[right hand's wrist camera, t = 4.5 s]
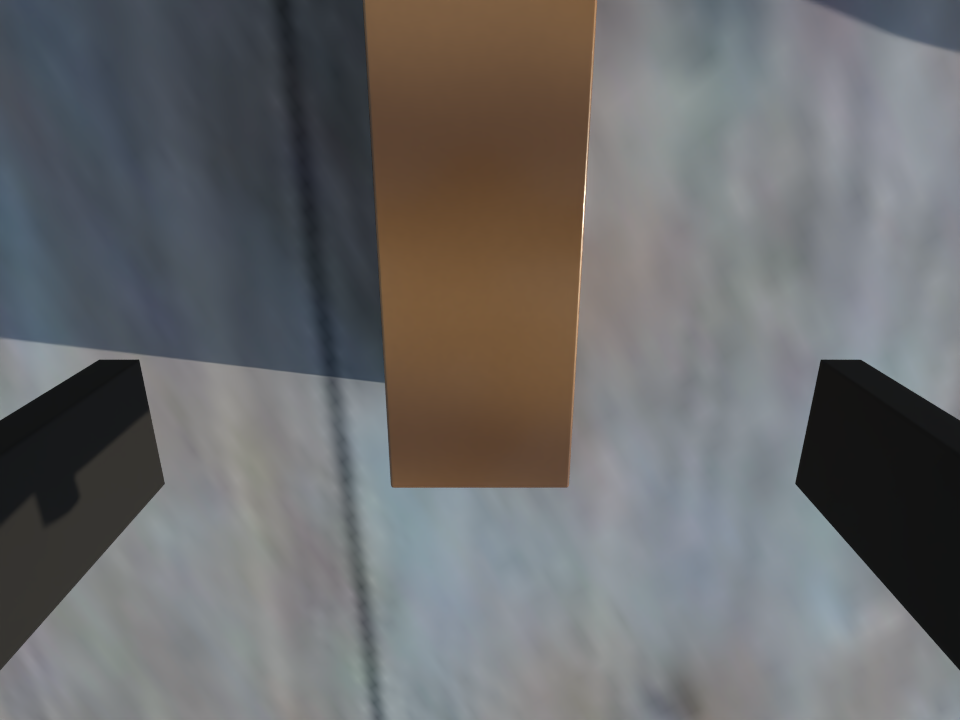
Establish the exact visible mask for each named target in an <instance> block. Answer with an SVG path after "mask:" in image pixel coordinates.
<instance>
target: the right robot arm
mask: <svg viewBox="0 0 960 720" xmlns="http://www.w3.org/2000/svg"><path fill="white" fill-rule="evenodd" d="M164 484H165V483H164V478H163V473H162V468H161V463H160V459H159V454H158V449H157V444H156V439H155V434H154V430H153V425H152V420H151V415H150V410H149V405H148V401H147V396H146V391H145V386H144V381H143V376H142V371H141V367H140V362H139V360H98V361H96V362H95V363H93V364H92V365H90V366H88V367H87V368H85V369H83V370H82V371H80V372H79V373H77V374H75V375H74V376H72V377H70V378H69V379H67V380H65V381H64V382H62V383H61V384H59V385H57V386H56V387H54V388H52V389H51V390H49V391H48V392H46V393H44V394H43V395H41V396H39V397H38V398H36V399H35V400H33V401H31V402H30V403H28V404H26V405H25V406H23V407H21V408H20V409H18V410H17V411H15V412H13V413H12V414H10V415H8V416H7V417H5V418H4V419H2V420H0V670H1V669H2V668H3V667H4V665H5V664H6V663H7V662H8V661H9V660H10V659H11V657H12V656H13V655H14V654H15V653H16V652H17V651H18V650H19V648H20V647H21V646H22V645H23V644H24V643H25V642H26V640H27V639H28V638H29V637H30V636H31V635H32V634H33V633H34V631H35V630H36V629H37V628H38V627H39V626H40V625H41V623H42V622H43V621H44V620H45V619H46V618H47V617H48V616H49V614H50V613H51V612H52V611H53V610H54V609H55V608H56V606H57V605H58V604H59V603H60V602H61V601H62V600H63V599H64V597H65V596H66V595H67V594H68V593H69V592H70V591H71V589H72V588H73V587H74V586H75V585H76V584H77V583H78V582H79V580H80V579H81V578H82V577H83V576H84V575H85V574H86V572H87V571H88V570H89V569H90V568H91V567H92V566H93V564H94V563H95V562H96V561H97V560H98V559H99V558H100V557H101V555H102V554H103V553H104V552H105V551H106V550H107V549H108V547H109V546H110V545H111V544H112V543H113V542H114V541H115V540H116V538H117V537H118V536H119V535H120V534H121V533H122V532H123V530H124V529H125V528H126V527H127V526H128V525H129V524H130V523H131V521H132V520H133V519H134V518H135V517H136V516H137V515H138V513H139V512H140V511H141V510H142V509H143V508H144V507H145V506H146V504H147V503H148V502H149V501H150V500H151V499H152V498H153V496H154V495H155V494H156V493H157V492H158V491H159V490H160V489H161V487H162V486H163V485H164ZM795 484H796V485H797V486H798V487H799V489H800V490H801V491H802V492H803V493H804V494H805V495H806V496H807V498H808V499H809V500H810V501H811V502H812V503H813V504H814V506H815V507H816V508H817V509H818V510H819V511H820V512H821V513H822V515H823V516H824V517H825V518H826V519H827V520H828V521H829V523H830V524H831V525H832V526H833V527H834V528H835V529H836V530H837V532H838V533H839V534H840V535H841V536H842V537H843V538H844V540H845V541H846V542H847V543H848V544H849V545H850V546H851V547H852V549H853V550H854V551H855V552H856V553H857V554H858V555H859V557H860V558H861V559H862V560H863V561H864V562H865V563H866V564H867V566H868V567H869V568H870V569H871V570H872V571H873V572H874V574H875V575H876V576H877V577H878V578H879V579H880V580H881V582H882V583H883V584H884V585H885V586H886V587H887V588H888V589H889V591H890V592H891V593H892V594H893V595H894V596H895V597H896V599H897V600H898V601H899V602H900V603H901V604H902V605H903V606H904V608H905V609H906V610H907V611H908V612H909V613H910V614H911V616H912V617H913V618H914V619H915V620H916V621H917V622H918V623H919V625H920V626H921V627H922V628H923V629H924V630H925V631H926V633H927V634H928V635H929V636H930V637H931V638H932V639H933V640H934V642H935V643H936V644H937V645H938V646H939V647H940V648H941V650H942V651H943V652H944V653H945V654H946V655H947V656H948V657H949V659H950V660H951V661H952V662H953V663H954V664H955V665H956V667H957V668H958V669H959V670H960V420H958V419H956V418H955V417H953V416H952V415H950V414H948V413H947V412H945V411H943V410H942V409H940V408H939V407H937V406H935V405H934V404H932V403H930V402H929V401H927V400H925V399H924V398H922V397H921V396H919V395H917V394H916V393H914V392H912V391H911V390H909V389H908V388H906V387H904V386H903V385H901V384H899V383H898V382H896V381H894V380H893V379H891V378H890V377H888V376H886V375H885V374H883V373H881V372H880V371H878V370H877V369H875V368H873V367H872V366H870V365H868V364H867V363H865V362H864V361H862V360H821V362H820V367H819V371H818V376H817V381H816V386H815V391H814V396H813V401H812V405H811V410H810V415H809V420H808V425H807V430H806V434H805V439H804V444H803V449H802V454H801V459H800V463H799V468H798V473H797V478H796V483H795Z"/></svg>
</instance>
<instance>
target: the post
mask: <svg viewBox="0 0 960 720" xmlns="http://www.w3.org/2000/svg"><path fill="white" fill-rule="evenodd" d="M596 10H597V0H363V14H364V31H365V48H366V65H367V83H368V100H369V117H370V134H371V151H372V168H373V185H374V203H375V220H376V237H377V254H378V271H379V288H380V305H381V322H382V340H383V357H384V374H385V391H386V408H387V425H388V442H389V460H390V477H391V486H392V487H393V488H546V487H568V486H569V473H570V456H571V439H572V422H573V405H574V388H575V370H576V353H577V336H578V319H579V302H580V285H581V268H582V250H583V233H584V216H585V199H586V182H587V165H588V148H589V130H590V113H591V96H592V79H593V62H594V45H595V27H596Z"/></svg>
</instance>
